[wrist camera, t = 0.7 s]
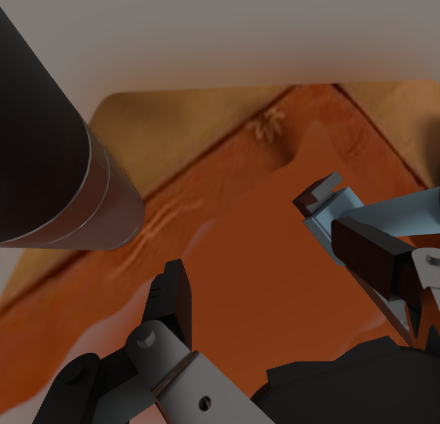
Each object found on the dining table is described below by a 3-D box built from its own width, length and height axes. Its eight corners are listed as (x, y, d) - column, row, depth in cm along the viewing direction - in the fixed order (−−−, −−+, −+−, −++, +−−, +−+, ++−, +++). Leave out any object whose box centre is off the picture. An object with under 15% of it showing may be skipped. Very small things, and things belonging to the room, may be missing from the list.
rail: (292, 201, 32) (311, 192, 27) (313, 182, 33) (336, 170, 29) (415, 352, 31) (458, 371, 26) (433, 327, 32) (477, 340, 27)
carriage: (302, 221, 31) (424, 188, 15) (334, 191, 33) (474, 136, 17) (337, 265, 31) (500, 278, 15) (368, 233, 32) (542, 214, 17)
